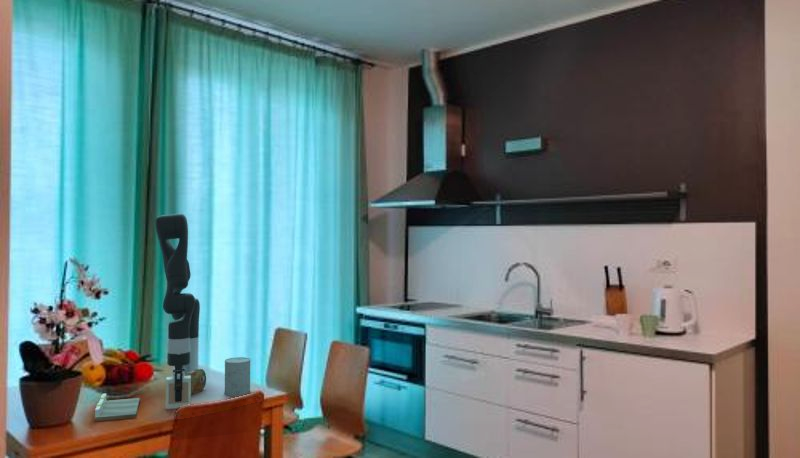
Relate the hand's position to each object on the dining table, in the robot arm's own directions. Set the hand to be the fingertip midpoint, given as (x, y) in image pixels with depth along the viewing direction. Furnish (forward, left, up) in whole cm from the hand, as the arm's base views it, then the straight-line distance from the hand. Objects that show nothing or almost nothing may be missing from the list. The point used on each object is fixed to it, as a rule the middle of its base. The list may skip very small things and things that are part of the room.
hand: (178, 398), depth 207 cm
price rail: (-1, -24, -1) cm, 24 cm away
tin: (-16, +5, -3) cm, 17 cm away
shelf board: (-1, -19, -3) cm, 19 cm away
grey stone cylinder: (-12, +21, -3) cm, 24 cm away
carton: (0, 0, -3) cm, 3 cm away
